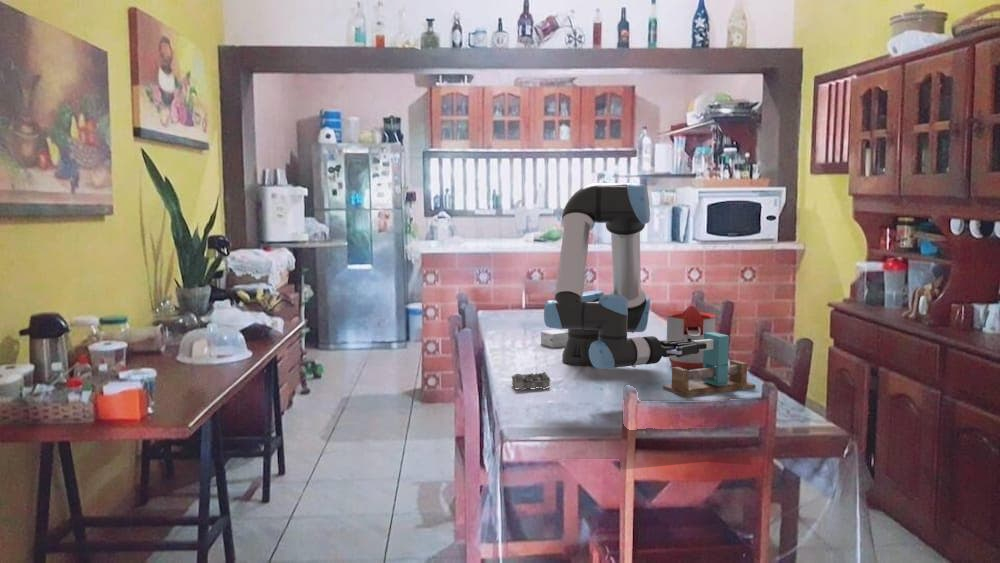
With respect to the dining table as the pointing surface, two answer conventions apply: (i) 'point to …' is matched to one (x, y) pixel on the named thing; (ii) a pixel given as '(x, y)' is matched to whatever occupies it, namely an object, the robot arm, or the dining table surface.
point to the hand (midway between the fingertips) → (711, 344)
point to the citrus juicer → (689, 333)
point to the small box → (554, 338)
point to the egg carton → (530, 380)
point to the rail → (708, 388)
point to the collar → (717, 358)
